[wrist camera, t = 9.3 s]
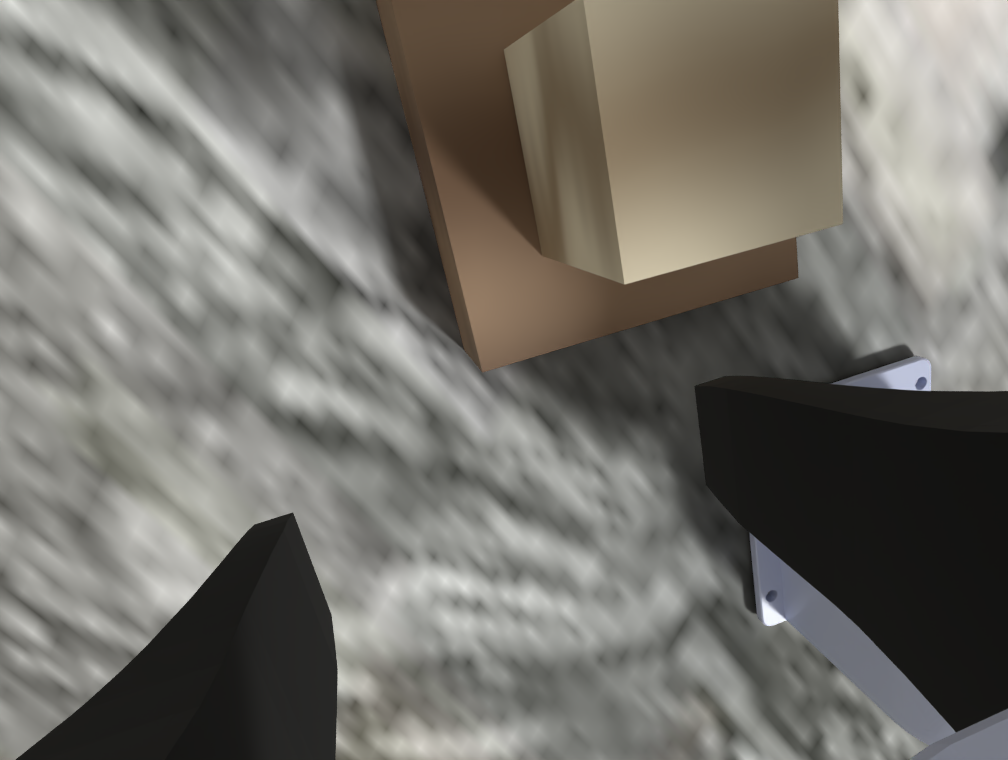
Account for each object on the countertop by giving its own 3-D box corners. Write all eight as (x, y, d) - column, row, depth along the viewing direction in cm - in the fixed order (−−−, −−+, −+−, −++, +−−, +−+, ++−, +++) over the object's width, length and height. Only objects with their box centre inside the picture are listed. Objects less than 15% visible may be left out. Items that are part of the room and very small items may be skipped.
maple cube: (708, 212, 18) (842, 224, 13) (542, 255, 17) (624, 284, 12) (690, 12, 16) (836, -52, 12) (503, 49, 15) (583, -6, 11)
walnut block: (739, 265, 22) (798, 278, 19) (461, 346, 20) (482, 372, 18) (708, -71, 19) (774, -115, 16) (370, -9, 17) (379, -46, 14)
